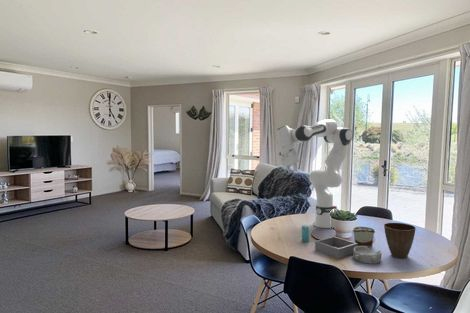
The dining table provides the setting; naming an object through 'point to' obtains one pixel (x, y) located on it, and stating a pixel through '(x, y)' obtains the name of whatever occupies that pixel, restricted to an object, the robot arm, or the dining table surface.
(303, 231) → the teal upright cylinder
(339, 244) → the shallow grey tray
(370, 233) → the food container
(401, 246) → the plant pot
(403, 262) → the dining table surface
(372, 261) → the dish
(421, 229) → the dining table surface
